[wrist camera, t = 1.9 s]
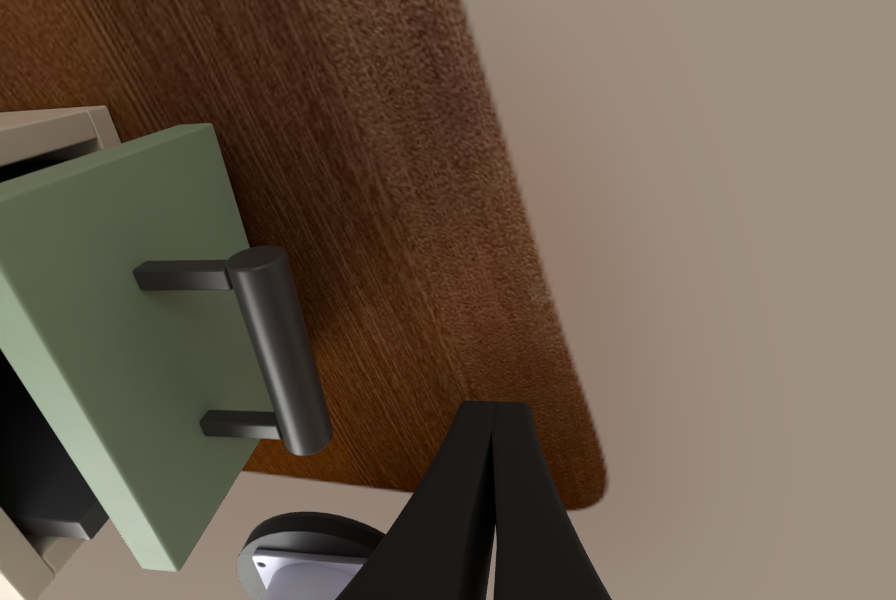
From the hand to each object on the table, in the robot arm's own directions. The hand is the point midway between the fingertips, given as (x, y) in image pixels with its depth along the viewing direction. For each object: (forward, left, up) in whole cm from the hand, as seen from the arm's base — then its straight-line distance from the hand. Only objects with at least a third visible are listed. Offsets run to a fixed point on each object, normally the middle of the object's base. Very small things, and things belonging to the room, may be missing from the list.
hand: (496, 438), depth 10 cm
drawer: (0, +13, -8) cm, 15 cm away
